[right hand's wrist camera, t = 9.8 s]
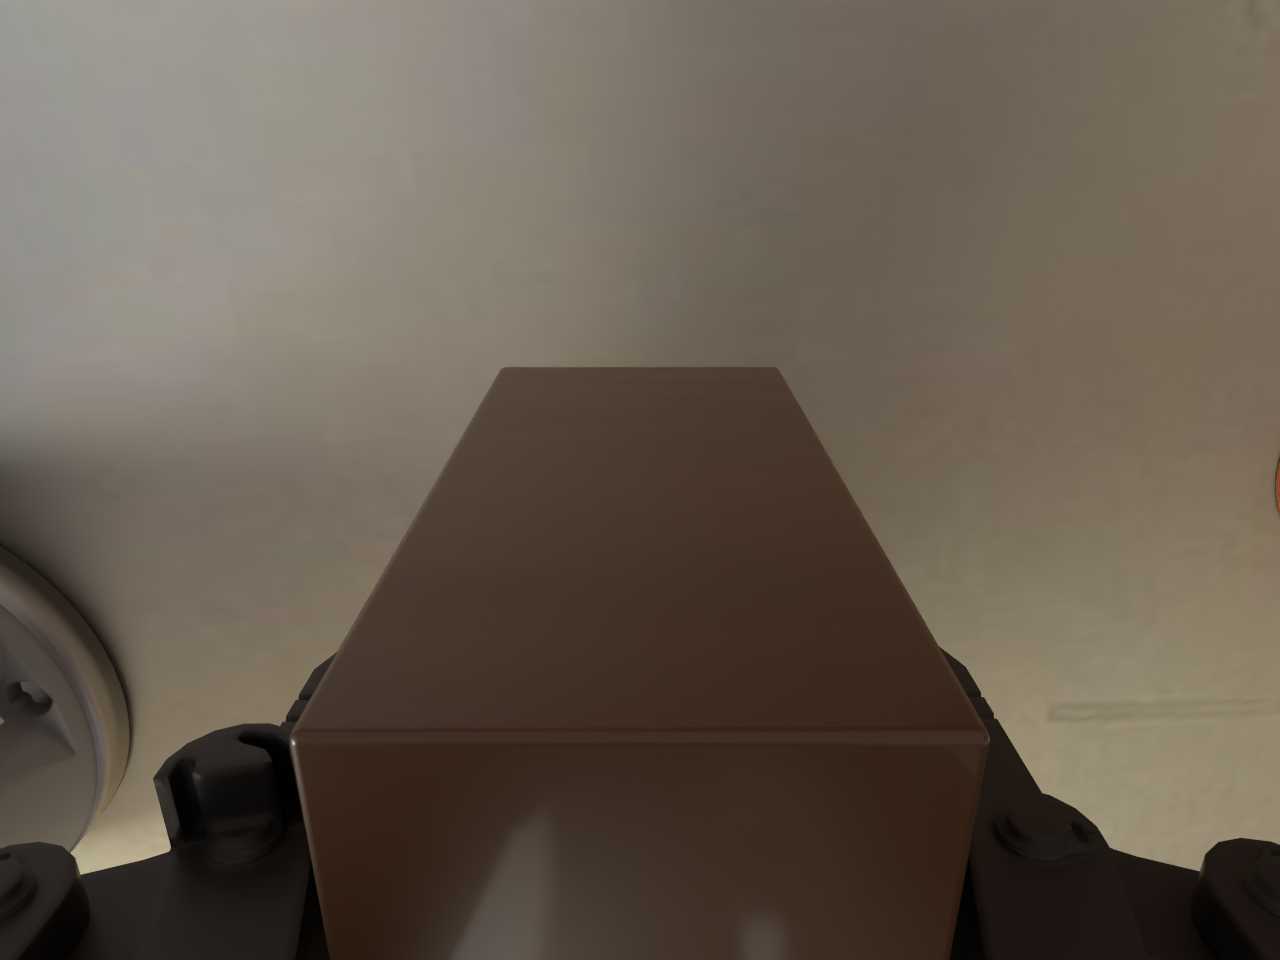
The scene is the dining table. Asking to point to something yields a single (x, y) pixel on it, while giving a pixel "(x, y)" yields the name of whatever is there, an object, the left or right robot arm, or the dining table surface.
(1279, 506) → the terracotta cup
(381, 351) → the dining table surface
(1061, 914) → the right robot arm
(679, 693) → the walnut box
